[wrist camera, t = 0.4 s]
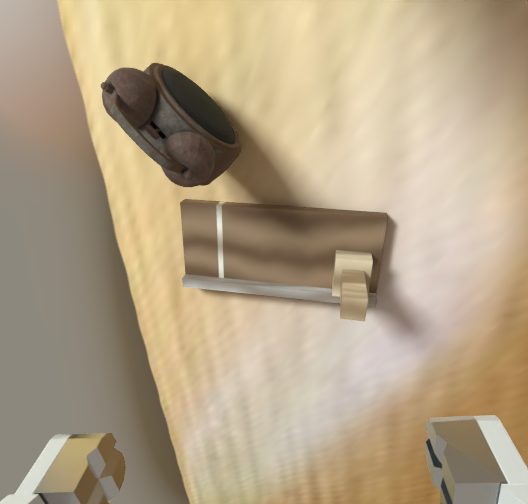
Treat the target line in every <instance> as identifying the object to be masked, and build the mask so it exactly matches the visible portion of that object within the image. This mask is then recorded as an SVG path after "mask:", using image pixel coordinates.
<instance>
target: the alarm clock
mask: <svg viewBox="0 0 528 504" xmlns="http://www.w3.org/2000/svg"><path fill="white" fill-rule="evenodd" d="M101 88H102V89H103V92H102V99H103V105H104V107H105V109H106V111H107V113H108V114H109V115H110V116H111V117H112V118H113V119H114V120H115V121H116V122H118V124H119V125H120V126H121V128H122V129H123V130H124V131H125V132H126V133H127V134H128V135H129V137H130V138H131V139H132V140H133V141H134V142H135V143H136V144H137V145H138V146H139V147H140V148H141V149H142V150H143V151H144V152H145V153H146V154H147V155H148V156H149V157H151V158H152V159H153V160H154V161H155V162H157V163H158V164H159V165H160V166H161V167H162V169H163V171H164V173H165V175H166V176H167V177H168V178H169V179H170V180H171V181H172V182H173V183H175V184H177V185H180V186H183V187H194V186H198V185H208V184H210V183H211V182H212V181H213V180H214V179H216V178H217V177H218V176H220V175H221V174H222V173H223V172H224V171H225V170H226V169H227V168H228V167H229V166H230V165H231V164H232V162H233V161H234V160H235V159H236V158H237V156H238V155H239V154H240V152H241V144H240V141H239V138H238V134H237V132H236V131H235V129H234V127H233V125H232V124H231V122H230V121H229V119H228V118H227V116H226V115H225V114H224V113H223V111H222V110H221V109H220V108H219V107H218V105H217V104H216V103H215V102H214V101H213V100H212V98H211V97H210V96H209V95H208V94H207V93H206V92H205V91H204V90H202V89H201V88H200V87H199V86H198V85H197V84H196V83H194V82H193V81H192V80H190V79H189V78H187V77H186V76H185V75H183V74H182V73H180V72H179V71H177V70H175V69H173V68H171V67H169V66H165V65H163V64H159V63H152V64H151V65H150V66H149V67H148V68H147V69H146V70H145V71H144V72H143V71H141V70H138V69H134V68H120V69H118V70H115V71H114V72H113V73H112V74H110V75H109V77H108V78H107V80H106V81H105V82H103V83H102V84H101Z"/></svg>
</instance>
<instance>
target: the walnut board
mask: <svg viewBox="0 0 528 504" xmlns="http://www.w3.org/2000/svg"><path fill="white" fill-rule="evenodd" d="M180 206H181V219H182V232H183V245H184V259H185V272H186V274H185V276H184V277H183V278H182V281H183V287H190V288H199V289H209V290H218V291H228V292H237V293H247V294H256V295H266V296H275V297H284V298H294V299H303V300H313V301H322V302H332V303H340V297H338V296H332V285H333V275H334V265H335V255H336V250H343V251H354V252H366V253H371V254H372V259H373V265H372V271H371V278H370V285H369V292H368V304H367V306H370V307H376V300H377V297H376V290H377V283H378V277H379V270H380V264H381V257H382V251H383V244H384V238H385V232H386V225H387V219H388V217H387V214H386V213H380V212H366V211H351V210H336V209H322V208H307V207H292V206H278V205H263V204H248V203H234V202H219V201H204V200H190V199H185V200H183V201H182V202H181V203H180Z"/></svg>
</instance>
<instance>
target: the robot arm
mask: <svg viewBox="0 0 528 504" xmlns="http://www.w3.org/2000/svg"><path fill="white" fill-rule="evenodd" d="M426 430H427V433H428V436H429V439H428V440H427V441H426V458H427V465H428V469H429V473H430V476H431V479H432V482H433V485H434V486H436V487H437V488H438V489H439V490H440V504H528V467H527V466H526V464H525V462H524V460H523V459H522V457H521V455H520V453H519V452H518V450H517V448H516V447H515V445H514V443H513V441H512V440H511V438H510V436H509V435H508V433H507V431H506V429H505V428H504V426H503V424H502V422H501V421H500V419H499V418H498V417H497V416H495V415H488V416H472V417H471V416H459V417H442V418H428V420H427V424H426ZM115 443H116V440H115V438H114V437H113V435H112V433H104V434H103V433H101V434H100V433H99V434H98V433H97V434H57V435H55V436H54V437H53V438H52V439H51V440H50V441H49V442H48V444H47V445H46V447H45V449H44V450H43V451H42V453H41V455H40V456H39V458H38V459H37V461H36V462H35V464H34V465H33V467H32V468H31V470H30V471H29V473H28V474H27V476H26V477H25V479H24V481H23V482H22V483H21V485H20V486H19V488H18V490H17V491H16V493H15V494H14V495H8V496H7V497H5V498H4V499H3V500H2V501H0V504H111V502H110V500H111V499H112V498H113V497H114V496H115V495H116V494H117V493H118V492H119V491H120V488H121V486H122V483H123V480H124V475H125V460H124V457H123V455H122V453H121V452H120V451H118V450H117V449H115V448H114V446H115Z"/></svg>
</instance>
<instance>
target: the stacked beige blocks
mask: <svg viewBox="0 0 528 504" xmlns="http://www.w3.org/2000/svg"><path fill="white" fill-rule="evenodd" d="M372 265H373V259H372V254H371V253H366V252H354V251H343V250H336V255H335V265H334V275H333V285H332V296H338V297H340V319H349V320H358V321H365V317H366V310H367V304H368V292H369V285H370V278H371V271H372Z"/></svg>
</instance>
